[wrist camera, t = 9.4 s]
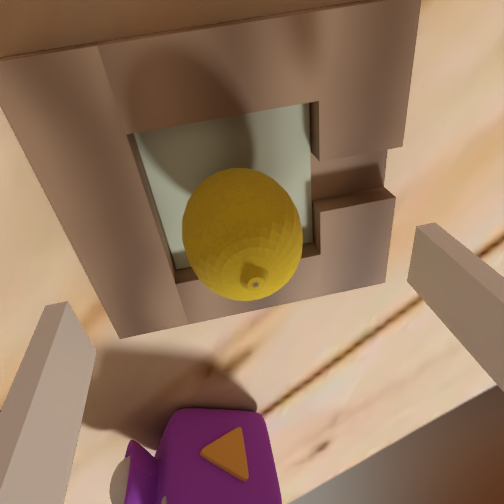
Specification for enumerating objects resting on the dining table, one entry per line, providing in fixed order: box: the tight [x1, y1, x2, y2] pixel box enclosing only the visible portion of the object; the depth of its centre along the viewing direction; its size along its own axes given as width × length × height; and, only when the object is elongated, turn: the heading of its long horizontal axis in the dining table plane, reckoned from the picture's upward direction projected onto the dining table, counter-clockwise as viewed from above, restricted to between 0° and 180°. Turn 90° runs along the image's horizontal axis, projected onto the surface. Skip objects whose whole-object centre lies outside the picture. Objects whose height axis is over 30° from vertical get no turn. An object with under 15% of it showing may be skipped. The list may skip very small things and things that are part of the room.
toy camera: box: [110, 408, 282, 504], centre depth 31 cm, size 11×14×10 cm
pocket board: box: [0, 0, 421, 339], centre depth 20 cm, size 18×16×2 cm
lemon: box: [182, 168, 303, 301], centre depth 17 cm, size 6×6×8 cm
